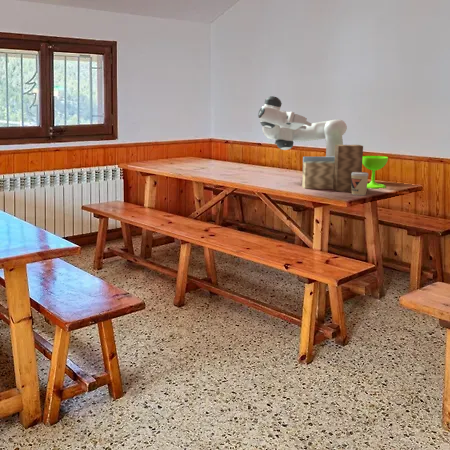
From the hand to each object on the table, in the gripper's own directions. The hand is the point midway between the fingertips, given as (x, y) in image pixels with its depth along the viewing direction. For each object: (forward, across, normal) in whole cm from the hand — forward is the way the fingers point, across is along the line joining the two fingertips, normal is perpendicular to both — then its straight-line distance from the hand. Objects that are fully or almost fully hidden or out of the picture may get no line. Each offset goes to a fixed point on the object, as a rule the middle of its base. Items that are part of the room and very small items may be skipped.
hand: (308, 126), depth 350 cm
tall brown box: (+31, +3, -30) cm, 43 cm away
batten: (+13, -6, -17) cm, 22 cm away
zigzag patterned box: (+20, -9, -30) cm, 38 cm away
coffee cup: (+32, +18, -34) cm, 50 cm away
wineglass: (+50, -8, -22) cm, 55 cm away
